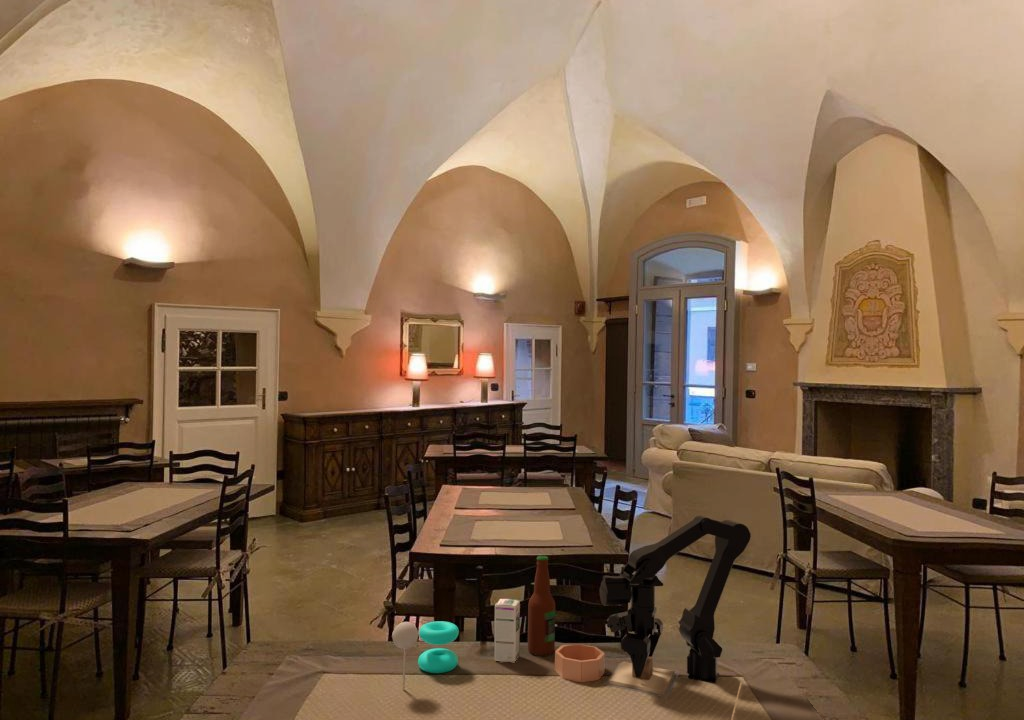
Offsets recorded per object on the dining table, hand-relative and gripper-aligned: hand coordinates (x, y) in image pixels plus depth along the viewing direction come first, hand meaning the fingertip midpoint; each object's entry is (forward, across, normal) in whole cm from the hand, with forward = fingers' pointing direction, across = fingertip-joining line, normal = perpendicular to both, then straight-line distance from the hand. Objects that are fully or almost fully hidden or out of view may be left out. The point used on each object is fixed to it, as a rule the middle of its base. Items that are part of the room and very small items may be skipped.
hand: (642, 670), depth 153 cm
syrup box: (+3, +3, -35) cm, 35 cm away
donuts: (+3, +16, -48) cm, 51 cm away
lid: (+2, 0, 0) cm, 2 cm away
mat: (+2, 0, 0) cm, 2 cm away
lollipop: (+3, +31, -48) cm, 57 cm away
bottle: (+3, -6, -29) cm, 30 cm away
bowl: (+2, +3, -15) cm, 15 cm away
